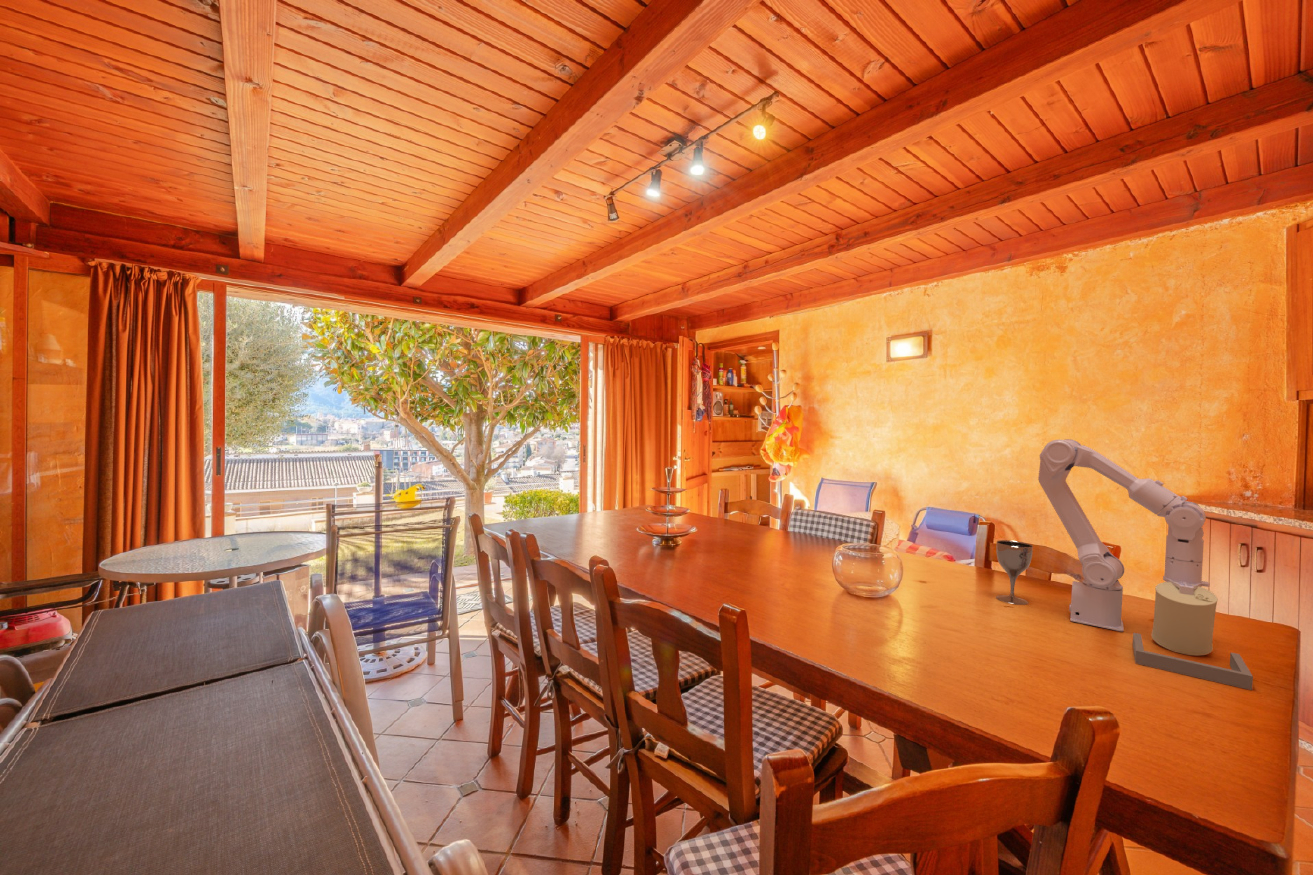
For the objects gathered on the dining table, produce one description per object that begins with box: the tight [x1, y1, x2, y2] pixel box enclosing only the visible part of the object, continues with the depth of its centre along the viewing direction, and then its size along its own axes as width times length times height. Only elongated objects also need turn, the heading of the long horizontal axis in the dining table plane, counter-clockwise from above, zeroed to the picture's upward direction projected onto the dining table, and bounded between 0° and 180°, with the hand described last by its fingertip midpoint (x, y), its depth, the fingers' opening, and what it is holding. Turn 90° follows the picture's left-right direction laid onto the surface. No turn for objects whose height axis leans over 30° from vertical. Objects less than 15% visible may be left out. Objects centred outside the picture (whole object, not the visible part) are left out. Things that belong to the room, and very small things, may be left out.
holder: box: [1132, 632, 1254, 691], centre depth 104 cm, size 15×12×2 cm
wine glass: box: [995, 539, 1034, 606], centre depth 141 cm, size 8×8×15 cm
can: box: [1151, 581, 1218, 657], centre depth 111 cm, size 9×9×12 cm
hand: (1180, 621), depth 115 cm, fingers closed
